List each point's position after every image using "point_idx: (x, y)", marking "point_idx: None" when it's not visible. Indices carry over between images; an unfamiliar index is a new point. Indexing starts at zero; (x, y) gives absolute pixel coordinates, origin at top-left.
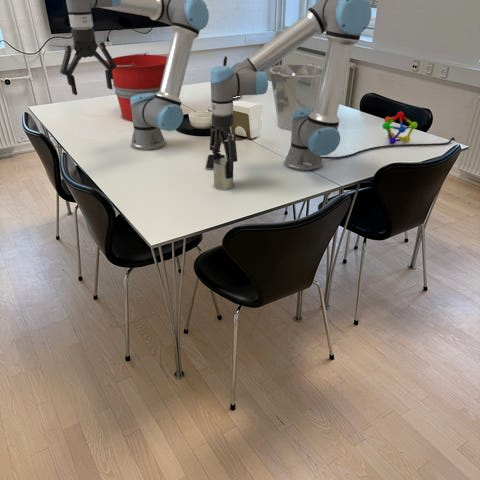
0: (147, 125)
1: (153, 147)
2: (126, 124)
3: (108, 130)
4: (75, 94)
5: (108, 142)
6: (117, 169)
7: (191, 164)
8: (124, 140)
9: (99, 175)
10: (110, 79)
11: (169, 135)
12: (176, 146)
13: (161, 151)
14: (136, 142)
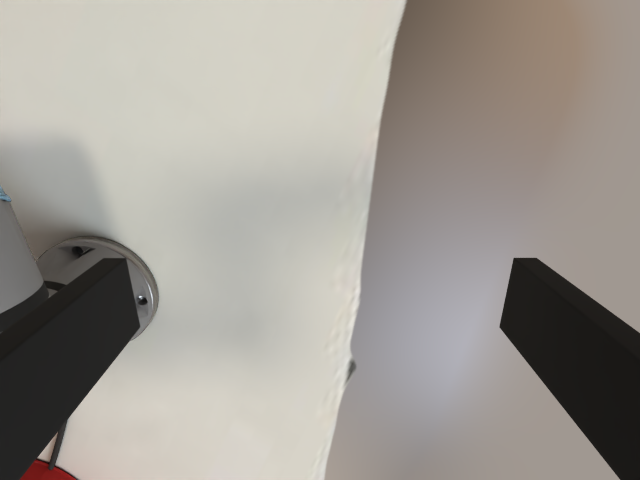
0: (50, 294)
1: (95, 240)
2: (108, 472)
3: (176, 457)
4: (538, 260)
5: (212, 376)
6: (280, 150)
7: (9, 4)
8: (161, 364)
9: (353, 140)
10: (33, 318)
11: None
12: None
13: (79, 206)
14: (139, 287)
